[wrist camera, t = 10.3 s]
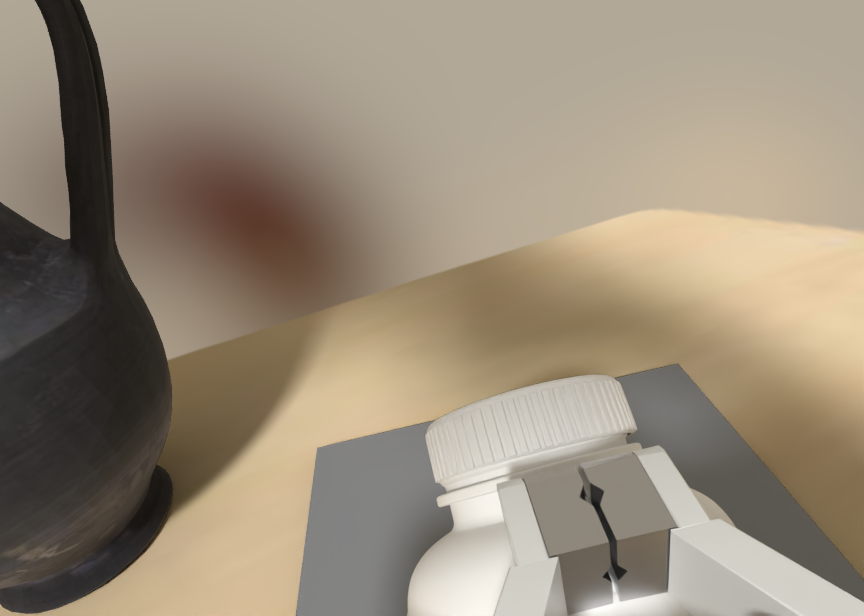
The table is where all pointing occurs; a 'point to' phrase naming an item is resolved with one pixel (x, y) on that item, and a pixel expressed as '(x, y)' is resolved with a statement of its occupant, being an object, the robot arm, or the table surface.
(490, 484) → the pill bottle
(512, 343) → the table surface
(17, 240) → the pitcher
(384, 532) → the mat
